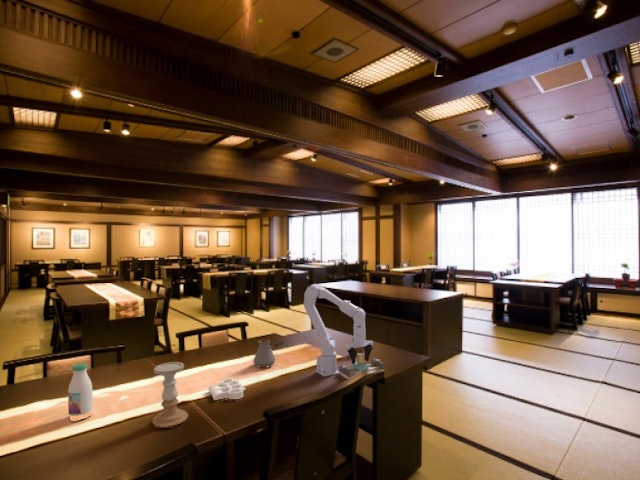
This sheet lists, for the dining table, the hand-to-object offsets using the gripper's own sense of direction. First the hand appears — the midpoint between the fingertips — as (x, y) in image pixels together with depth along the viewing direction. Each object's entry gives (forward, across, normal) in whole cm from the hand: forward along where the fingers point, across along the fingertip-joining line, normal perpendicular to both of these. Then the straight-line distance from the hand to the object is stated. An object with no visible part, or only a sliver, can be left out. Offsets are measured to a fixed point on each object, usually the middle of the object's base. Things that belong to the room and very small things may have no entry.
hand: (360, 361), depth 177 cm
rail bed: (+6, +1, 0) cm, 6 cm away
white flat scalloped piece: (+6, -62, +10) cm, 63 cm away
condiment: (+6, +16, +25) cm, 30 cm away
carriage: (+3, 0, 0) cm, 3 cm away
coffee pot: (+6, -35, +30) cm, 47 cm away
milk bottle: (+6, -116, +16) cm, 117 cm away
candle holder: (+6, -86, -4) cm, 86 cm away
